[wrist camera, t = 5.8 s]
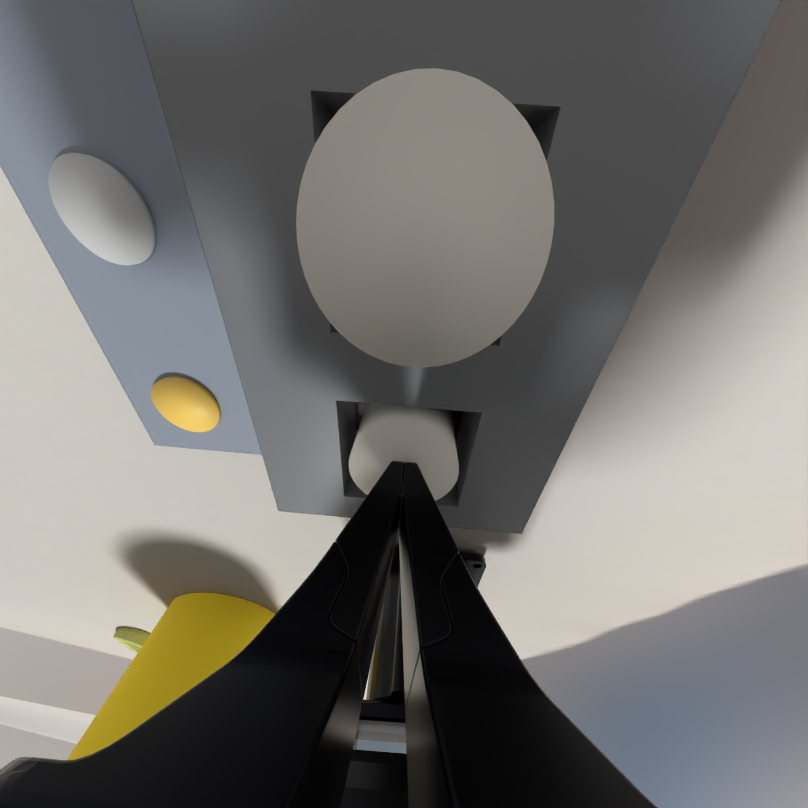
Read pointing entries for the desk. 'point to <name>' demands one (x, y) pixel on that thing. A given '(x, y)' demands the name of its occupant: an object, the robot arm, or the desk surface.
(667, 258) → the desk surface
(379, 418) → the button
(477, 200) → the button middle
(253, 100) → the button panel
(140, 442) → the desk surface
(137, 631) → the key
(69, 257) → the pattern card
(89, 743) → the yellow cylinder with hole
